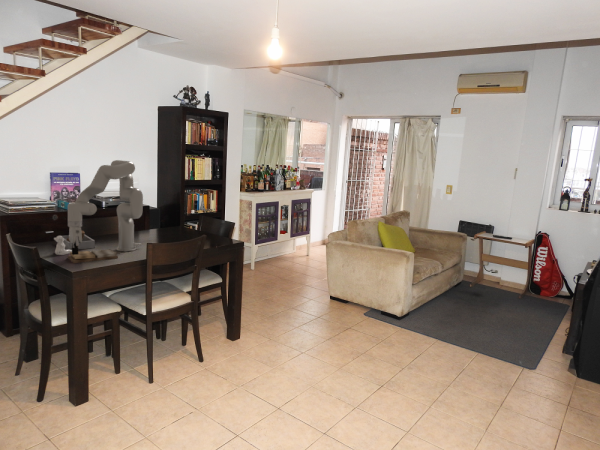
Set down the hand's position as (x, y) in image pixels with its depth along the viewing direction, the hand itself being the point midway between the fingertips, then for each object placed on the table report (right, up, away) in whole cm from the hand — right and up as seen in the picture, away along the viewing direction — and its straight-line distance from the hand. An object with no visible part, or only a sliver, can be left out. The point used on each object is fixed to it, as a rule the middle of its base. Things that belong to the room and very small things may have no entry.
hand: (75, 254), depth 257 cm
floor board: (+7, -3, +7) cm, 11 cm away
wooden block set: (-18, +3, +37) cm, 41 cm away
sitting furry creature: (-15, -1, +13) cm, 20 cm away
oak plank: (+3, -1, +3) cm, 5 cm away
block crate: (-18, +3, +37) cm, 41 cm away
